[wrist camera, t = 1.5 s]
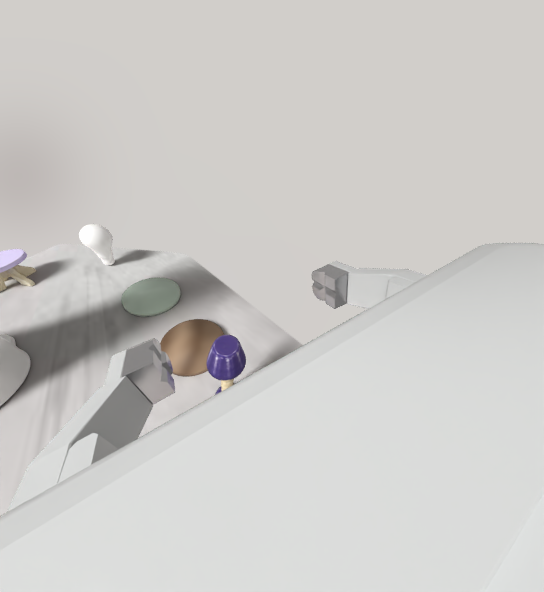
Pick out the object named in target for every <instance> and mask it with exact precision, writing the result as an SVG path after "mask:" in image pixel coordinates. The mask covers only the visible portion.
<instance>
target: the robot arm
mask: <svg viewBox="0 0 544 592" xmlns="http://www.w3.org/2000/svg"><path fill="white" fill-rule="evenodd" d="M312 279H313V280H314V284H313V292H314V294H315V296H316V297H317V298H318V299H320V300H324V301H326V304H327V305H329V306H331V307H332V308H334V309H336V308H338V307H340V306H342V305H344V304H346V303H347V304H350V305H354V306H358V307H363V308H367V310H366V311H364V312H362V313H360V314H358V315H357V316H355V317H353V318H351V319H349V320H348V321H346V322H344V323H342V324H340V325H339V326H337V327H335V328H333V329H332V330H330V331H328V332H326V333H325V334H323V335H321V336H319V337H317V338H316V339H314V340H312V341H310V342H308V343H307V344H305V345H303V346H301V347H300V348H298V349H296V350H294V351H293V352H291V353H289V354H287V355H285V356H284V357H282V358H280V359H278V360H277V361H275V362H273V363H271V364H269V365H268V366H266V367H264V368H262V369H261V370H259V371H257V372H255V373H253V374H252V375H250V376H248V377H246V378H245V379H243V380H241V381H239V382H237V383H236V384H234V385H232V386H230V387H229V388H227V389H225V390H223V391H221V392H220V393H218V394H216V395H214V396H213V397H211V398H209V399H207V400H205V401H204V402H202V403H200V404H198V405H197V406H195V407H193V408H191V409H189V410H188V411H186V412H184V413H182V414H181V415H179V416H177V417H175V418H173V419H172V420H170V421H168V422H166V423H165V424H163V425H161V426H159V427H157V428H156V429H154V430H152V431H150V432H149V433H147V434H145V435H143V436H141V437H140V438H138V437H139V435H140V432H141V430H142V428H143V426H144V424H145V422H146V420H147V418H148V416H149V414H150V412H151V409H152V407H153V404H155V403H157V402H159V401H161V400H162V399H164V398H166V397H168V396H170V395H171V394H173V393H175V386H174V379H173V378H172V376H171V375H172V373H173V368H172V364H171V361H170V359H169V357H168V355H167V354H166V352H163V351H161V345H160V343H159V342H158V340H157V339H155V338H153V339H151V340H148V341H146V342H143V343H141V344H138V345H136V346H133V347H131V348H128V349H126V350H123V351H121V352H119V353H116V354H114V355H113V356H112V357H111V361H110V365H109V369H108V372H107V376H106V380H105V384H104V386H102V387H100V388H99V389H98V390H97V391H96V392H95V393H94V394H93V395H92V396H91V397H90V398H89V400H88V401H87V402H86V403H85V404H84V405H83V406H82V407H81V408H80V409H79V411H78V412H77V413H76V414H75V415H74V416H73V417H72V418H71V419H70V420H69V421H68V423H67V424H66V425H65V426H64V427H63V428H62V429H61V430H60V431H59V432H58V434H57V435H56V436H55V437H54V438H53V439H52V440H51V441H50V442H49V443H48V444H47V446H46V447H45V448H44V449H43V450H42V451H41V452H40V453H39V454H38V455H37V457H36V458H35V459H34V460H33V461H32V462H31V463H30V464H29V466H28V468H27V470H26V472H25V474H24V476H23V479H22V481H21V483H20V485H19V487H18V489H17V491H16V494H15V496H14V498H13V500H12V502H11V504H10V507H9V509H8V511H7V512H6V513H5V514H3V515H1V516H0V592H544V244H536V243H495V244H485V245H482V246H479V247H477V248H475V249H474V250H472V251H470V252H468V253H466V254H465V255H463V256H461V257H459V258H458V259H456V260H454V261H452V262H451V263H449V264H447V265H445V266H443V267H442V268H440V269H438V270H436V271H435V272H433V273H431V274H429V275H425V274H422V273H418V272H415V271H412V270H409V269H378V268H377V269H376V268H359V269H356V268H354V267H351V266H348V265H345V264H343V263H340V262H332V263H330V264H328V265H326V266H324V267H322V268H319V269H317V270H315V271H313V272H312ZM29 369H30V358H29V356H28V354H27V353H26V352H24V351H23V350H21V349H19V348H18V347H16V344H15V340H14V338H13V337H11V336H9V335H7V334H2V335H0V406H1V405H2V404H3V403H4V402H6V401H7V400H8V399H9V398H10V397H11V396H12V395H13V394H14V393H15V392H16V391H17V389H18V388H19V387H20V386H21V384H22V383H23V382H24V380H25V378H26V376H27V374H28V372H29Z"/></svg>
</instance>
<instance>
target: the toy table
mask: <svg viewBox="0 0 544 592" xmlns="http://www.w3.org/2000/svg"><path fill="white" fill-rule="evenodd" d="M26 257H27V254H26V253H25V252H24V251H23V250H21V249H11V250H6V251H1V252H0V292H1V291H2V290H4V289H6V288H7V287H6V286H5V283H4V281H6V280H8V278H7V277H12V278H14V279H16V280H17V281H18V282H20V283H21V284H22V285H27V286H33V285H35V283H34V282H33V281H32V280H30V279H28V278H27V276H29V275H30V274H32V273H34V272H36V270H35V269H34V268H32V267H26V266H19V265H18V264H19V263H21V262H22V261H23V260H24V259H25V258H26Z"/></svg>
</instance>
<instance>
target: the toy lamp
mask: <svg viewBox="0 0 544 592" xmlns="http://www.w3.org/2000/svg"><path fill="white" fill-rule="evenodd" d="M206 364H207V369H208V371H209V373H210V374H211V375H212V376H213V377H214V378H216V379H218V380H221V387H220V388H219V389H218V390H217V392H216V394H218V393H220V392H221V391H223V390H225V389H227V388H229V387H230V386H232V385H233V380H234V378H235V377H237V376H238V375H239V374H241V372H242V371H243V369H244V367H245V364H246V357H245V354H244V351H243V349H242V347H241V344H240V342H239V341H238V339H237V338H236V337H234V336H232V335H222V336H220V337H218V338H217V339H216V340H215V341H214V343H213V344H212V347H211V349H210V352H209V354H208V357H207V363H206ZM216 394H215V395H216Z"/></svg>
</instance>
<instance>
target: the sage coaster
mask: <svg viewBox="0 0 544 592" xmlns="http://www.w3.org/2000/svg"><path fill="white" fill-rule="evenodd" d="M180 296H181V293H180V288H179V286H178V284H177V283H176V282H174V281H172V280H170V279H167V278H149V279H145V280H142V281H139V282H137V283H135V284H133V285H131V286H130V287H129V288H128V289H127V290H126V291H125V292H124V293H123V295H122V299H121V301H122V304H123V306H124V308H125V309H126V311H127V312H129V313H130V314H133V315H136V316H143V317H144V316H154V315H158V314H161V313H164V312H166V311H168V310H169V309H171V308H172V307H174V306H175V305H176V304H177V302H178V301H179V299H180Z"/></svg>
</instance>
